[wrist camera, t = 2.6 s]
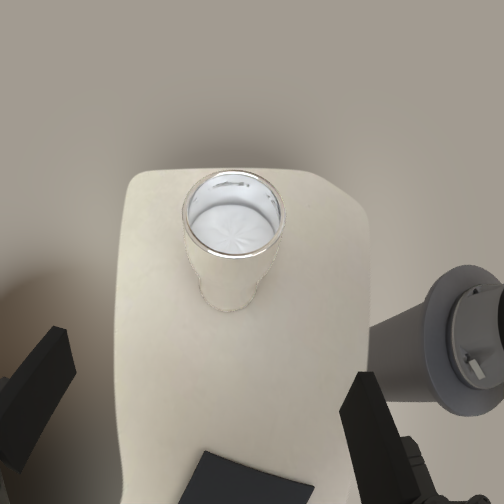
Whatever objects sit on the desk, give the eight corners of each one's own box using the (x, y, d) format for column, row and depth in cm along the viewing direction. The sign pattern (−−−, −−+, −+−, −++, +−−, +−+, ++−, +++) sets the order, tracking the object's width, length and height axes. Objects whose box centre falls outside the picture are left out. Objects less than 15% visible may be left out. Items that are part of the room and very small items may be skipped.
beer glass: (254, 322, 32) (281, 272, 18) (188, 308, 32) (164, 248, 18) (265, 260, 35) (295, 178, 21) (203, 248, 34) (195, 159, 21)
